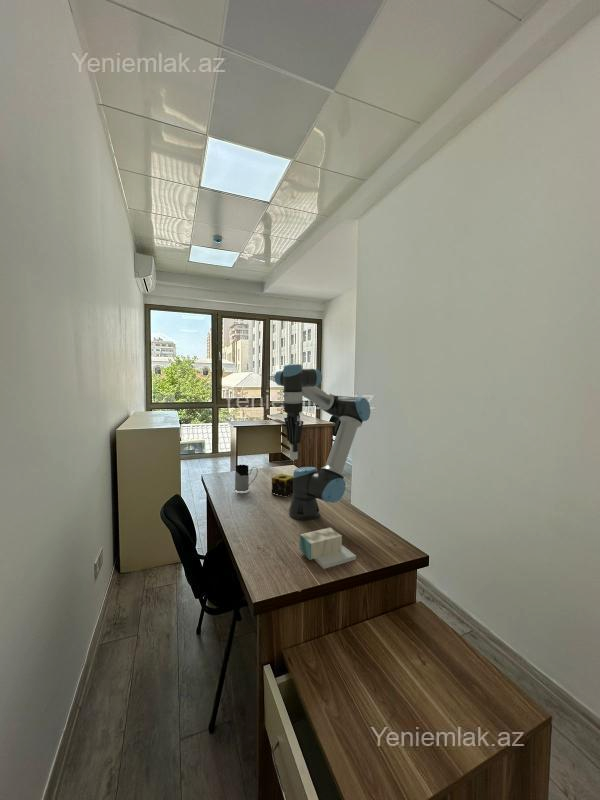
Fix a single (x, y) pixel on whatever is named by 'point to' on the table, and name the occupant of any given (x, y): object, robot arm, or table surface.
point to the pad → (336, 558)
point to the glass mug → (242, 477)
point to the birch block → (320, 543)
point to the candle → (282, 484)
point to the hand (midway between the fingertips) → (293, 459)
